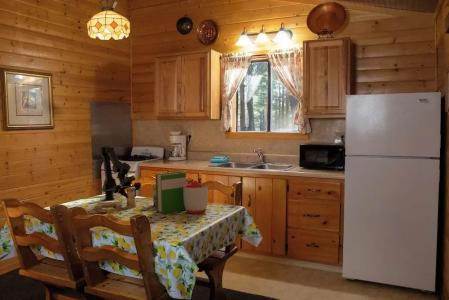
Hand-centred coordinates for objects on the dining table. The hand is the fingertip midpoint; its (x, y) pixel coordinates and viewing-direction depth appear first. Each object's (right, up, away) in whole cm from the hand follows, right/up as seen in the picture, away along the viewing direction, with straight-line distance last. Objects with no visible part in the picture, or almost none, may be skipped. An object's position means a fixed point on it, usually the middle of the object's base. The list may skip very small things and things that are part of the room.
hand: (131, 197), depth 256 cm
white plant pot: (+44, -7, -14) cm, 47 cm away
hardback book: (+28, -7, -11) cm, 31 cm away
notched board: (-16, -7, +3) cm, 17 cm away
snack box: (+24, -6, +5) cm, 25 cm away
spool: (-1, -7, +2) cm, 7 cm away
